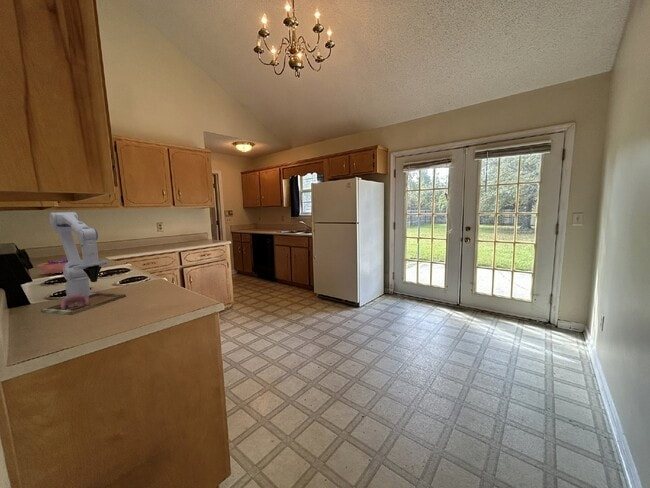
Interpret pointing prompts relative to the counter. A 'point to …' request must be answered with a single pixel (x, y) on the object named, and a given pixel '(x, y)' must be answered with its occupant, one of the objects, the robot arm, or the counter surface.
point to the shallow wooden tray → (82, 308)
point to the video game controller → (76, 297)
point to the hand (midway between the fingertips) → (94, 281)
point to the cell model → (53, 266)
